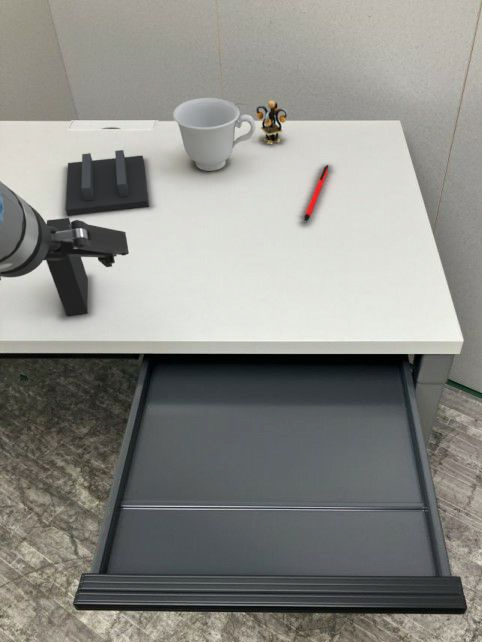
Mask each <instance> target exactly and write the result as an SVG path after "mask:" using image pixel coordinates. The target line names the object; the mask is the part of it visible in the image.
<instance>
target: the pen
mask: <svg viewBox="0 0 482 642" xmlns="http://www.w3.org/2000/svg"><path fill="white" fill-rule="evenodd" d="M328 172H329V164H326V165H325V166H324V167H323V169H322V173H321V175H320V177H319V179H318V182H317V183H316V187H315V189H314V192H313V194H312V197H311V199H310V202H309V204H308V207H307V209H306V212H305V214H304V223H306V222H307V221H308V220H309V219H310V218H311V215H312V212H313V209H314V207H315V205H316V202H317V200H318V197H319V195H320V192H321V189H322V187H323V184H324V183H325V182H324V181H325V180H326V176H327V174H328Z"/></svg>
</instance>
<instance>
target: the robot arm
mask: <svg viewBox="0 0 482 642" xmlns="http://www.w3.org/2000/svg"><path fill="white" fill-rule="evenodd" d="M70 223H71V225H69V228H70V230H65V231H64V230H63V229H62V227H60V226H52V225H47V222H46V220H45V219H44V218H43V216H42V215H41V214H40V213H39V212H38V211H37V210H36V209H35V208H34V207H33V206H32V205H30V204H29V203H28V202H27V201H26V200H25V199H24V198H22V197H21V196H20V195H18V194H17V193H16V192H15V191H13V190H12V189H11V188H10V187H8V185H6V184H5V183H3V182H2V181H1V180H0V281H2V278H19V277H23V276H25V275H28V274H31V273H32V272H33V271H35V270H36V269H37V268H38V267H40V265H41V264H42V263H43V261H46V260H54V261H57V260H61V259H65V258H66V257H67V256H73V257H81V258H97V260H98V261H99V263H101V264H102V265H103V266H104V267H105V268H113V264H116V261H115V257H116V258H117V256H123V257H124V256H127V255H129V254H130V253H129V245H128V239H127V234H126V231H124V230H123V231H122V230H117V229H113V228H108V227H103V226H98V225H94V224H93V225H92V224H88V223H86V222H85V221H83V220H79V219H75V220H72V221H70ZM52 251H53V252H54V253H50V252H52Z"/></svg>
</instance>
